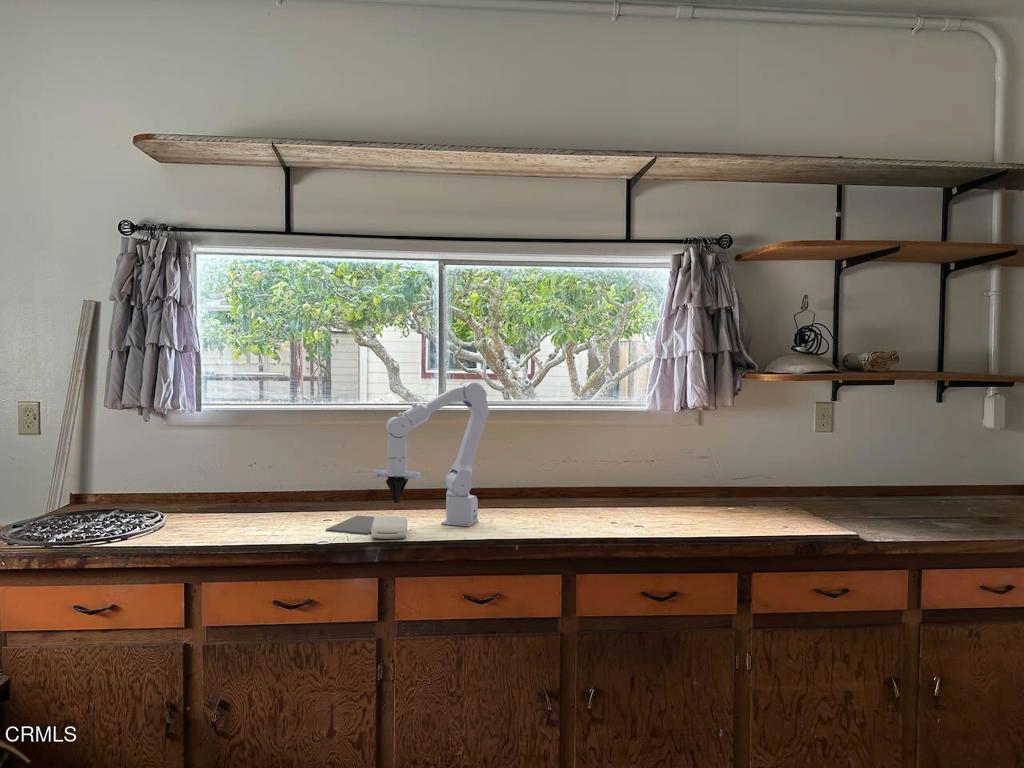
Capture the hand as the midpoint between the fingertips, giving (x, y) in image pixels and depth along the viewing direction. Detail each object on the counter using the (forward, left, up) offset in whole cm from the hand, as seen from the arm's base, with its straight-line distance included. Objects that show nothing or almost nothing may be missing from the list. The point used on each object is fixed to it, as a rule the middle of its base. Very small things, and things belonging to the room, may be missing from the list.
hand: (397, 502), depth 189 cm
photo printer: (+1, +2, -6) cm, 6 cm away
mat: (+12, 0, -8) cm, 14 cm away
